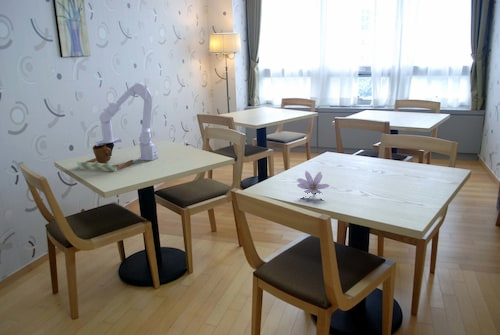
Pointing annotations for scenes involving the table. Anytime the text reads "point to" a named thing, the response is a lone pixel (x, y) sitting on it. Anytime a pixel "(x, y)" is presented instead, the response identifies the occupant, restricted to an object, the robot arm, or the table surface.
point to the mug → (102, 153)
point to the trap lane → (102, 165)
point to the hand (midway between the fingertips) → (110, 155)
